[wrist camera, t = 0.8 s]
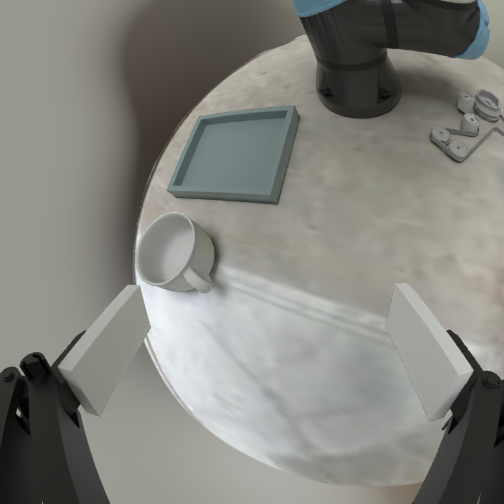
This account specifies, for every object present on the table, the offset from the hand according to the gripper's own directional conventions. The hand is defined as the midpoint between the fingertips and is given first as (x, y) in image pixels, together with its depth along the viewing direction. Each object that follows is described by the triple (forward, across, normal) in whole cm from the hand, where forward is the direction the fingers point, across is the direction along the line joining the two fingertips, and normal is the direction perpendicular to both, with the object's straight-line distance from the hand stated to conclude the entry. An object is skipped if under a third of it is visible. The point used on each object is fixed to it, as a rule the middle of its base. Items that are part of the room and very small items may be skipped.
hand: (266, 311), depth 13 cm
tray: (+36, -6, +6) cm, 37 cm away
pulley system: (+24, +38, +14) cm, 47 cm away
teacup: (+26, -11, -10) cm, 30 cm away
